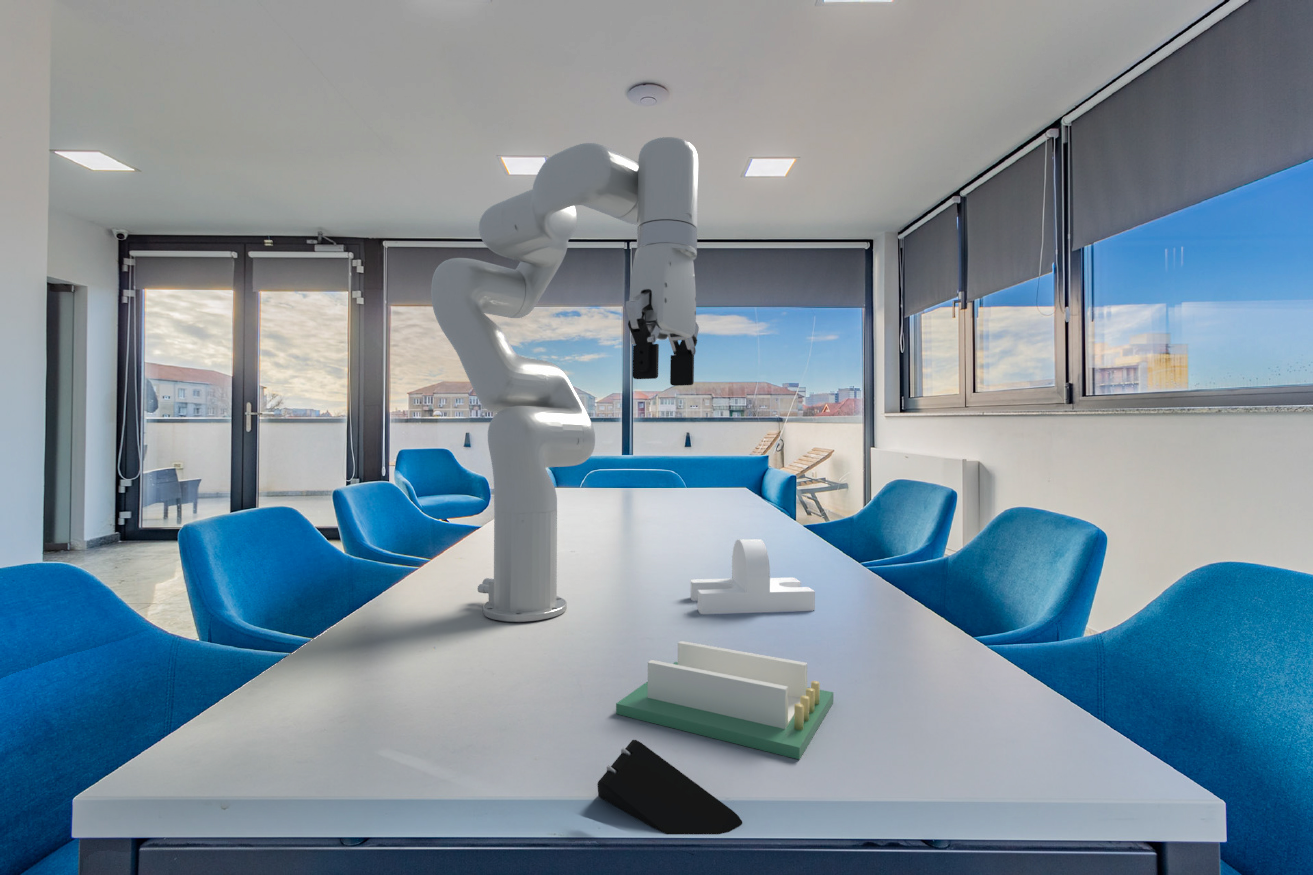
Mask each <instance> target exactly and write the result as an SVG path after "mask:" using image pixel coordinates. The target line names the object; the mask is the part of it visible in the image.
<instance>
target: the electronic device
mask: <svg viewBox="0 0 1313 875" xmlns="http://www.w3.org/2000/svg"><path fill="white" fill-rule="evenodd" d="M596 786H597V795H598V797H599V798H600V799H602V800H604V801H605V802H607V803H609V804H611V805H612V806H614V807H616V808H618V809H620V810H621V811H623V812H625V813H626V814H628V815H630V816H632V817H634V818H636V820H639V821H640V822H643V823H644V824H646V825H648V826H649V827H651V828H653V829H655V830H657V831H658V832H661V833H664V834H666V835H722V834H726V833H729V832H731V831H733V830H735V829H737V828H739V827H740V826H742V825H743V821H742V819H741V817H740V816H739V815H738V814H737V813H736V812H735V811H734V810H732V808H730V807H728V806H727V805H726V804H724V802H722V801H721V800H719V799H718V798H717V797H715V796H714V795H712V794H711V793H710V792H708V791H707V789H706V790H705V788H704V787H702V786H700V785H699V784H698V783H696V782H695V781H693V780H692V779H691V778H690V777H688V776H687V775H686V774H684V773H683V772H681V771H680V770H679V769H677V768H676V766H673V765H672V764H671V763H669V762H668V761H666V760H665V759H664V758H663V757H661V756H660V755H659V754H657V753H656V752H654V751H653V750H652V749H650V748H649V747H648V746H646V745H645V744H644V743H642V742H641V741H639V740H637V739H632V740H631V741H630V742H629V743H628V745H627V746H626V747H625V748H624V747H622V748H621V749H620V754H619V756H618V757H617V758H616V759H615V761H614V762H613V763H612V764H611V765H607V766H606V771H605V773H603V775H602V776H601V778H599V780H598V782H597V784H596ZM686 853H688V854H690V855H692V856H695V854H693V853H691V852H686Z"/></svg>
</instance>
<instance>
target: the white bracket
mask: <svg viewBox="0 0 1313 875" xmlns="http://www.w3.org/2000/svg"><path fill="white" fill-rule="evenodd" d="M731 558H732V559H731V578H701V579H700V578H699V579H697V578H695V579H693V578H692V579H690V599H691V601H692V602H697V611H698V612H699V614H700V615H722V614H723V615H725V614H750V613H752V614H754V613H755V614H756V613H781V612H782V613H784V612H787V613H789V612H812V611H813V610H815V611H816V591H815V590H814V589H813V588H810V587H809V586H802V585H801V584H802V582H801V581H800V580H798V579H797V578H796V577H771V568H770V559H769V553H768V549H767V547H766V544H765V543H764V541H763V539H760V538H759V539H756V538H755V539H754V538H751V539H736V541H735V542H734V545H733V548H732V556H731ZM813 612H814V611H813Z"/></svg>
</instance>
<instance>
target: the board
mask: <svg viewBox="0 0 1313 875" xmlns="http://www.w3.org/2000/svg"><path fill="white" fill-rule="evenodd" d="M820 686H821V685H820V682H819V681H817V680H811V682H810V687H808V662H804V661H799V660H793V659H788V658H782V657H776V656H771V655H770V656H769V655H763V654H758V653H755V652H754V653H753V652H748V651H747V652H746V651H741V650H735V649H730V648H724V647H719V646H712V645H709V644H707V645H706V644H702V643H701V644H700V643H695V642H690V641H685V640H684V641H683V640H680V641H678V642H677V661H674V662H673V663H669V662H664V661H659V660H653V659H651V660H649V661H648V662H647V681H646V682H645V683H643V684H642V685H640V686H639V687H637V688H636V689H634V690H633V691H632V692H631V693H628V694H627V695H626V696H625V697H623V698H622V699H621V700H619V701H618V702H616V703H615V714H616V715H620V716H623V717H626V718H627V717H628V718H630V719H631V718H632V719H635V720H639V721H644V722H647V723H652V724H656V725H660V726H663V727H667V728H670V729H676V730H679V731H682V732H687V733H691V734H695V735H699V736H704V737H706V738H710V739H716V740H719V741H724V742H727V743H732V744H736V745H740V746H744V747H747V748H751V749H756V750H760V751H763V752H767V753H770V754H776V755H781V756H784V757H789V758H792V759H796V760H800V759H801V758H802V756H803V754H804V753H805V751H806V750H807V748H808V746H809V745H810V743H811V741H812V739H813V737H814V736H815V734H816V733H817V731H818V728H820V725H821V723H823V720H824V719H825V718H826V715H827V714H828V713H829V710H830V709H831V707H832V705H833V704H834V692H833V691H829V690H828V691H827V690H823V689H820Z"/></svg>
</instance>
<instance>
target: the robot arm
mask: <svg viewBox="0 0 1313 875" xmlns="http://www.w3.org/2000/svg"><path fill="white" fill-rule="evenodd" d="M698 194H699V156H698V152H697V150H696V148H695V146H694V145H693V144H692V143H690V142H689V141H687V140H686V139H683V138H679V137H674V136H673V137H672V136H669V137H668V136H667V137H664V136H663V137H659V138H658V137H657V138H654V139H651V140H649V141H648V142H646V143H645V144H644V145H643V146H642V147H641V148H640V151H639V154H638V160H633V159H631V158H629V157H627V156H625V155H624V154H621V153H619V152H618V151H616V150H614V149H611V148H609V147H607V146H604V145H602V144H599V143H595V142H586V143H579V144H576V145H573V146H570V147H569V148H566V149H564V150H561V151H559V152H557V153H555V154H553V155H552V156H550V157H548V158H547V159H546V160H545V161H544V163H543V164H542V165H541V167H540V169H539V171H538V172H537V174H536V176H535V178H534V182H533V185H532V189H529V190H527V191H525V192H523V193H522V192H521V193H519V194H517V195H515V196H512V197H510V198H509V197H508V198H507V199H505V200H502V201H500V202H497V203H495V204H493V205H491V206H490V207H489V208H487V209H486V210H485V211H484V212H483V214H482V215H481V217H480V219H479V223H478V232H479V237H480V239H481V240H482V242H483V243H484V245H485V247H487V248H488V249H489V250H490V251H491V252H492V253H494V254H497V255H498V256H501V257H504V258H507V259H511V260H514V261H518V262H519V263H518V265H517V267H516V268H515V269H513V268H510V267H506V266H502V265H498V264H494V263H490V262H487V261H483V260H478V259H475V258H468V257H453V258H449V259H446V260H444V261H442V262H441V263H440V264H439V265H438V266H437V267H436V268H435V271H434V273H433V275H432V278H431V279H432V280H431V287H430V288H431V289H430V290H431V291H430V293H431V294H430V295H431V296H430V297H431V304H432V309H433V313H434V315H435V318H436V321H437V323H438V326H439V327H440V329H441V331H442V332H443V334H444V336H445V337H446V339H448V341H449V343H450V344H451V345H452V347H453V349H454V350H455V352H456V354H457V356H458V358H459V360H460V363H461V365H462V367H463V369H464V371H465V374H466V376H467V379H468V380H469V383H470V385H471V387H472V389H473V391H474V394H475V395H476V397H477V399H478V401H479V402H480V404H481V406H482V407H483V408H484V409H486V410H487V411H488V412H492V413H494V414H495V413H496V414H495V415H494V416H493V417H492V419H491V420H490V422H489V425H488V428H487V429H488V430H487V445H488V451H489V456H490V461H491V468H492V476H493V499H494V500H493V507H494V508H493V512H494V513H493V514H494V515H493V516H494V517H493V518H494V519H493V523H494V524H493V578H490V577H486V578H484V579H483V581H482V582H481V583H480V584H478V585H477V592H478V593H482V594H488V601H486V602H485V603H484V604H483V606H482V614H483V615H484V617H486V618H488V619H490V620H496V621H500V622H508V623H509V622H511V623H513V622H515V623H521V622H523V623H525V622H535V621H542V620H543V621H544V620H547V619H553V618H555V617H558V616H560V615H562V614H563V613H564V612H566V611H567V601H566V599H564V598H562V597H561V596H558V595H557V594H558V593H557V588H558V585H557V584H558V583H557V582H558V580H557V579H558V578H557V577H558V575H557V574H558V573H557V572H558V571H557V570H558V561H557V560H558V495H557V491H556V487H555V485H554V483H553V481H552V479H551V477H550V474H549V473H548V471H547V468H555V467H558V468H560V467H563V468H564V467H574V466H578V465H582V464H583V463H585V462H587V460H589V458H591V456H592V454H593V452H594V449H595V446H596V432H595V428H594V425H593V422H592V420H591V418H590V416H589V413H588V412H587V410H586V408H585V407H584V404H583V403H582V402H583V401H581V399H580V397H579V395H578V394H577V391H576V390H575V388H574V386H573V384H572V383H571V381H570V378H569V377H568V376H567V374H566V373H565V372H564V371H563V370H562V368H560V367H559V366H558V365H556V364H555V363H552V362H550V361H547V360H543V359H535V358H528V357H524V356H521V355H519V354H518V353H516V352H515V350H514V349H513V347H512V345H511V343H510V342H509V339H508V337H507V336H506V334H505V332H504V331H503V330H502V329H501V327H500V326H498V324H496V323H495V322H494V320H492V319H491V318H490V317H488V316H487V315H492V316H497V317H498V316H499V317H504V318H508V319H509V318H510V319H520V318H521V319H522V318H524V317H526V316H528V315H529V314H530V313H531V312H532V311H534V308H535V307H536V306H537V304H538V303H539V301H540V299H541V298H542V296H543V295H544V293H545V292H546V289H547V288H548V286H549V285H550V283H551V281H552V280H553V278H554V277H555V275H556V273H557V272H558V270H559V268H560V266H561V265H562V263H563V261H564V259H565V256H566V254H567V250H568V248H569V247H568V246H569V240H570V239H571V238H572V237H573V236H574V234H575V232H576V228H577V224H578V214H577V209H576V207H577V206H583V207H586V208H589V209H591V210H594V211H597V212H599V213H602V214H605V215H608V216H610V217H612V218H613V219H617V220H619V221H622V222H625V223H628V224H631V225H636V227H637V228H636V250H635V252H634V257H633V261H632V262H633V263H632V268H631V273H630V274H631V275H630V287H629V300H627V301H625V309H626V315H627V318H628V323H627V325H628V328H629V331H630V333H631V334H630V343H631V345H632V378H633V379H634V380H649V379H650V380H651V379H652V380H654V379H655V380H657V378H659V350H660V348H659V345H660V344H659V343H656V341H657V340H661V341H663V340H666V339H668V341H669V344H670V346H671V349H672V353H673V355H672V354H671V355H670V370H669V371H670V372H669V373H670V376H669V377H670V378H669V383H670V386H673V387H678V386H693V385H694V381H695V379H694V378H695V376H694V375H695V355H696V352H697V351H696V346H697V343H698V339H697V338H698V334H699V330H700V328H699V325H698V323H697V321H696V320H697V295H696V294H697V291H696V277H695V276H696V275H695V264H694V261H695V260H696V259H697V256H698V255H697V254H698V212H699V211H698V210H699V208H698V207H699V206H698V202H699V201H698V200H699V199H698V198H699V195H698ZM679 341H680V343H679Z"/></svg>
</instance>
